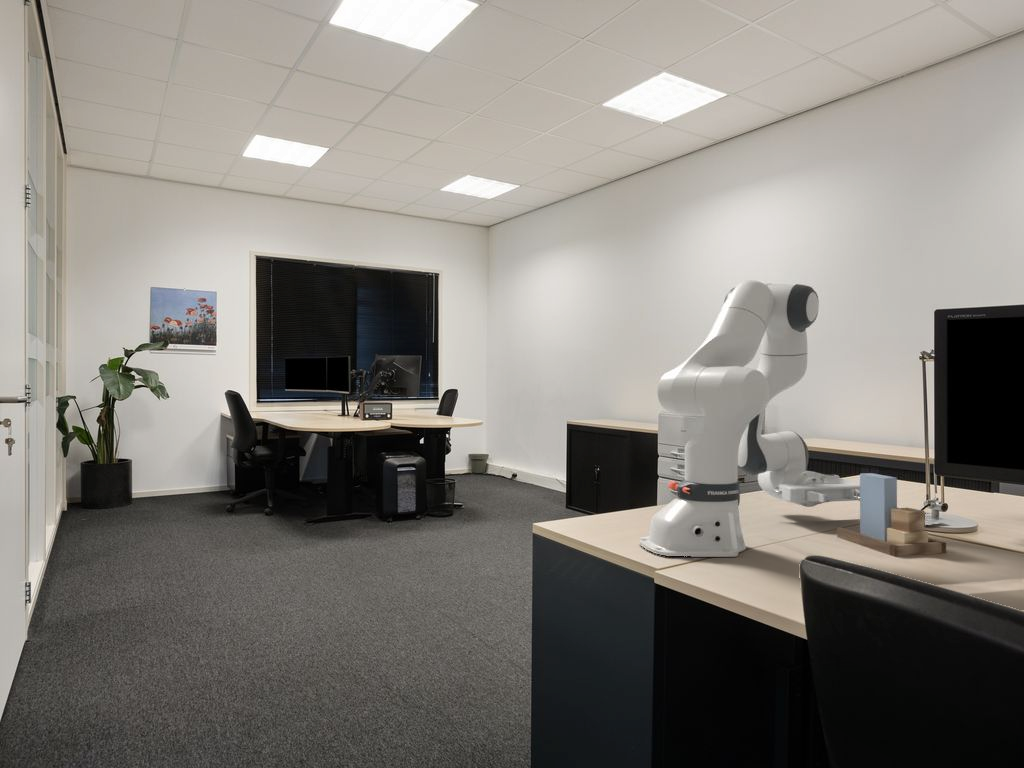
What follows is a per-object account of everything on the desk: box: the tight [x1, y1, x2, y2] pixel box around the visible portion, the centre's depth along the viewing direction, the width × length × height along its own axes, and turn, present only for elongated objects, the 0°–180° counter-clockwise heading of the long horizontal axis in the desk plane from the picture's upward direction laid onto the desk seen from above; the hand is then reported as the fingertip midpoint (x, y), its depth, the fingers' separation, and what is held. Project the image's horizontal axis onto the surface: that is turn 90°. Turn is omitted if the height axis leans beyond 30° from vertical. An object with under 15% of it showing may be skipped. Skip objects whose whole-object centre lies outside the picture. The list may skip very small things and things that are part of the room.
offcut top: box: [891, 507, 926, 533], centre depth 130 cm, size 4×4×4 cm
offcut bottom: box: [887, 528, 929, 544], centre depth 130 cm, size 6×4×4 cm
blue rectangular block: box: [859, 472, 898, 542], centre depth 137 cm, size 3×7×14 cm, turn 11°
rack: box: [836, 527, 947, 557], centre depth 134 cm, size 12×16×4 cm
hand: (844, 497), depth 147 cm, fingers open, 8 cm apart
